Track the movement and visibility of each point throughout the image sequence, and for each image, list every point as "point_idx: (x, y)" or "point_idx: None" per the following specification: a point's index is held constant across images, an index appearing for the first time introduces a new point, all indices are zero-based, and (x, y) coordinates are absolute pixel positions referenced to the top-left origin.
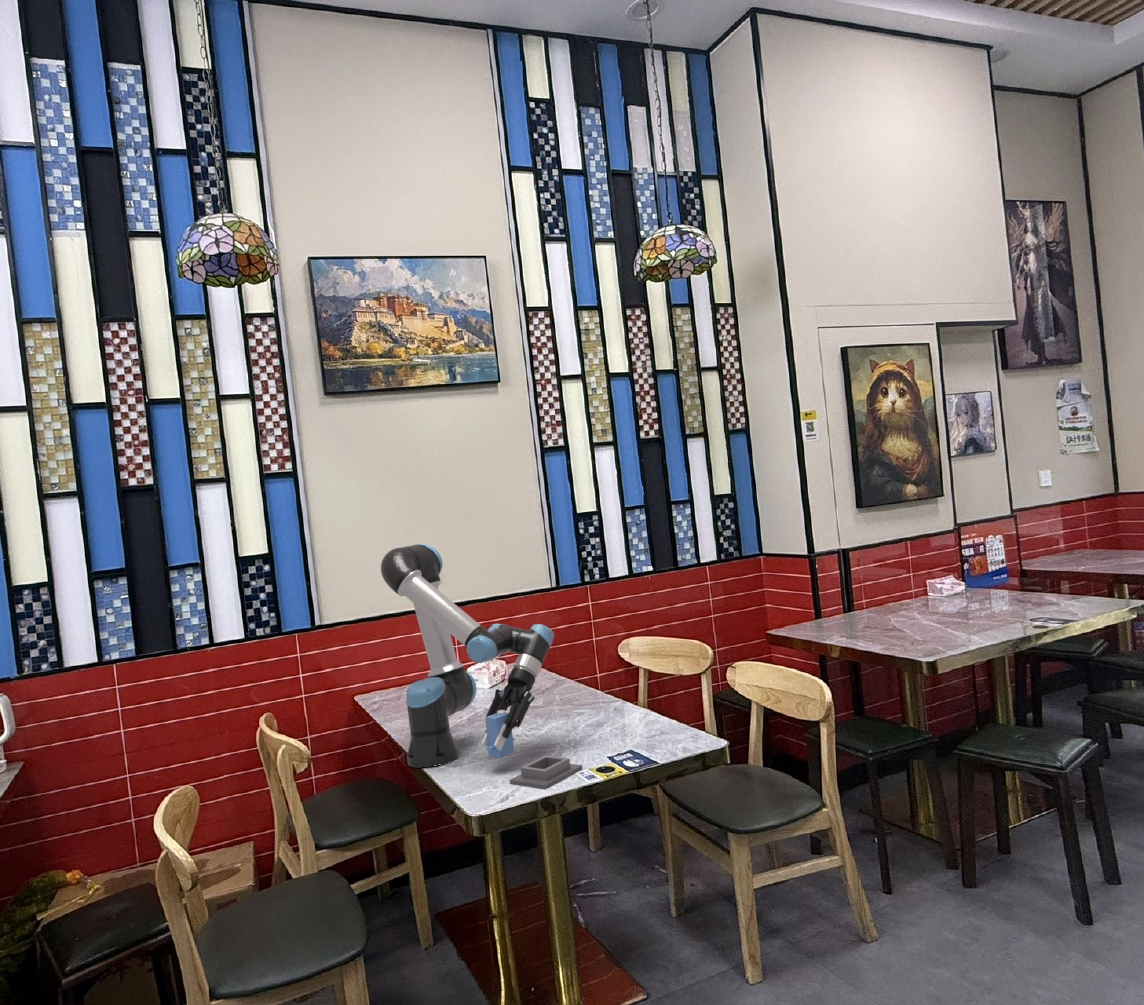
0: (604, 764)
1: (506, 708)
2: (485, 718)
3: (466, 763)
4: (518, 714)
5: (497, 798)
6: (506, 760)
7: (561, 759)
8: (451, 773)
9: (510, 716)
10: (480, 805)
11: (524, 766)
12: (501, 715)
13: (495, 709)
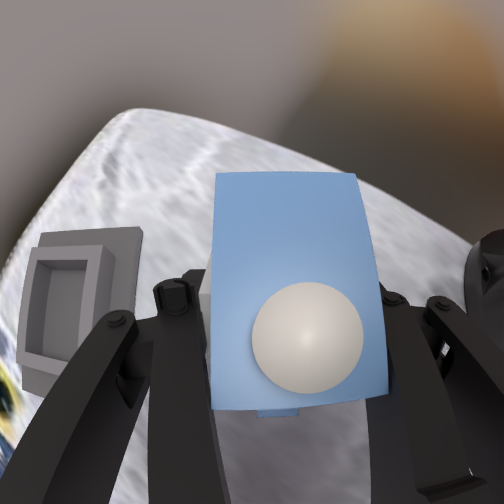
0: (14, 429)
1: (375, 490)
2: (349, 178)
3: None
4: (69, 362)
5: (127, 161)
6: (326, 411)
7: (29, 353)
8: (395, 240)
9: (167, 352)
10: (145, 128)
11: (96, 259)
12: (240, 280)
13: (468, 407)
